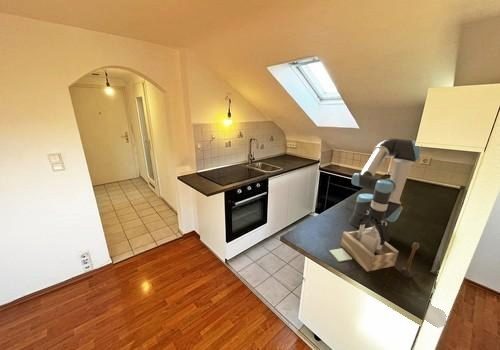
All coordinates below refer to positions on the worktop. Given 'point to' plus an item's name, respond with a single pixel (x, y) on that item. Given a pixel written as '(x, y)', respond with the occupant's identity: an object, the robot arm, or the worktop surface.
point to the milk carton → (370, 239)
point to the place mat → (340, 254)
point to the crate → (368, 252)
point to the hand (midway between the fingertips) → (369, 241)
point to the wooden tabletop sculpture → (409, 262)
